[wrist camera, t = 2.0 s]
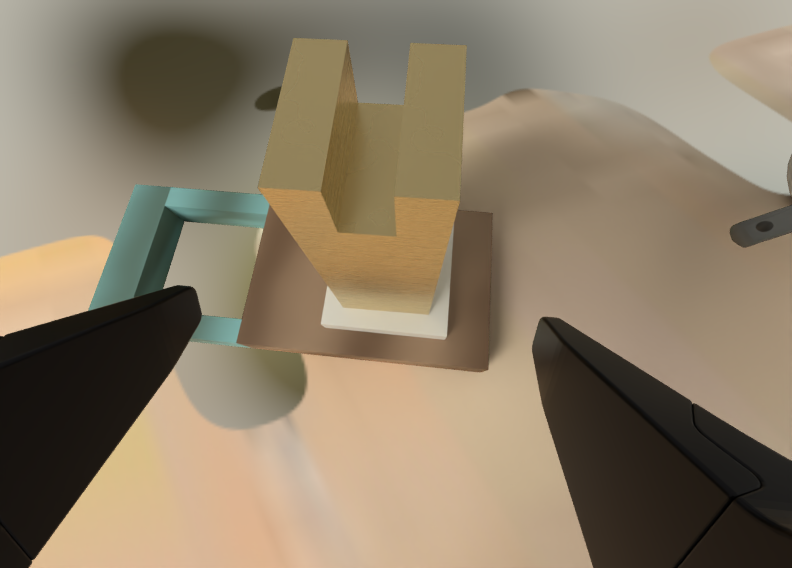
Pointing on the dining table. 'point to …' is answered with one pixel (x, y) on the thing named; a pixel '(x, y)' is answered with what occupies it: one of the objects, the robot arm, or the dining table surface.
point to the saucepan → (765, 223)
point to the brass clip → (369, 173)
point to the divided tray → (306, 286)
